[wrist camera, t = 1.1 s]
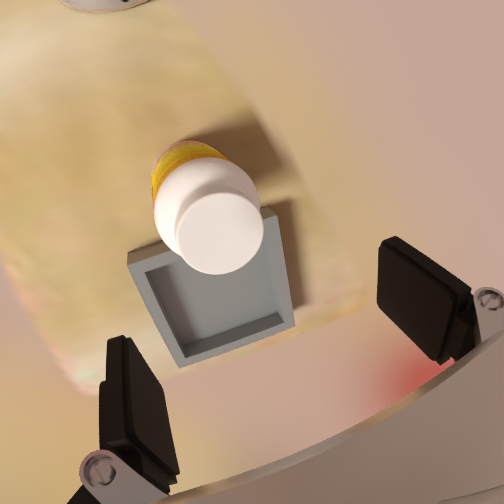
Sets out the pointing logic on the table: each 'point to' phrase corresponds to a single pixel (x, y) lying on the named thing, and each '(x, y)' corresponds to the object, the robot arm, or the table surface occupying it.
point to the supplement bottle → (206, 208)
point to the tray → (215, 298)
